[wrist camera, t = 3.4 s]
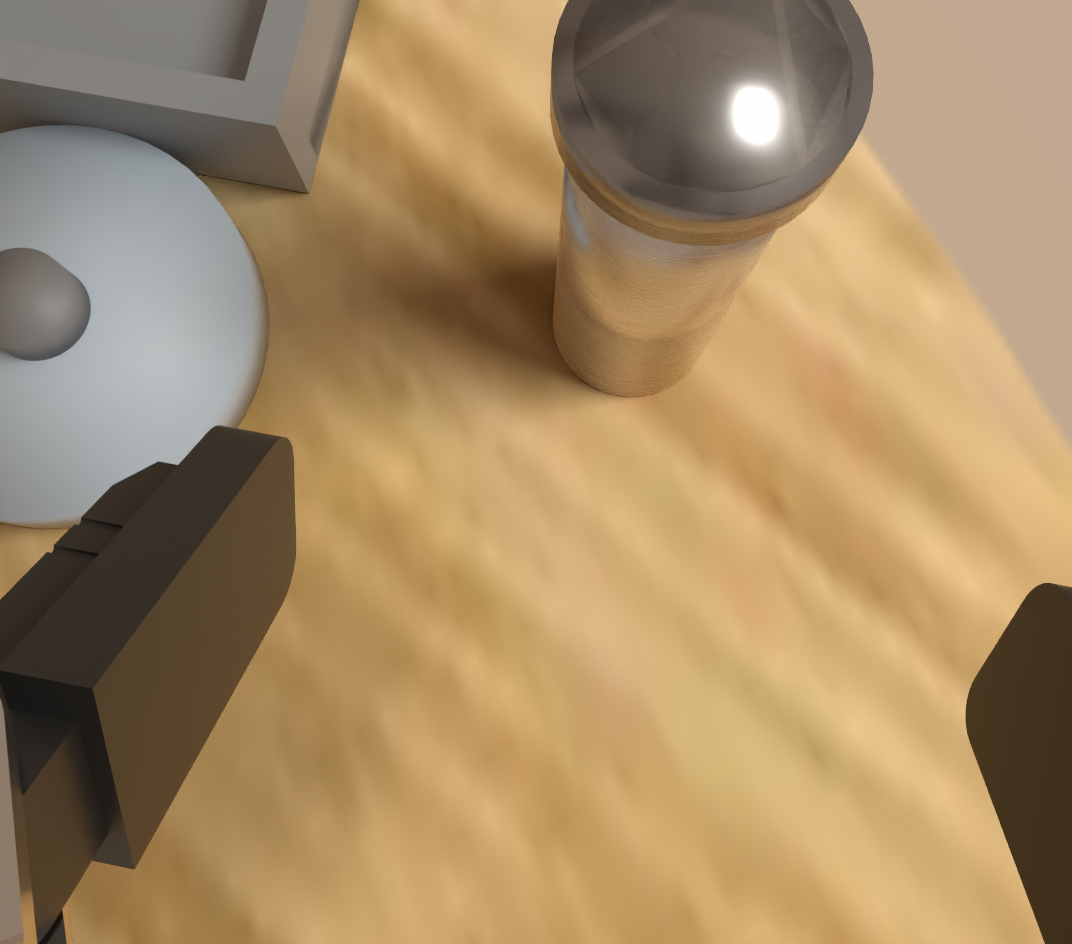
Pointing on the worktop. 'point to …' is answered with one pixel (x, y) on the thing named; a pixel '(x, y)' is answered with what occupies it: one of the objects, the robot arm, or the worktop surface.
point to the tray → (182, 77)
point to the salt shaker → (687, 164)
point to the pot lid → (113, 317)
